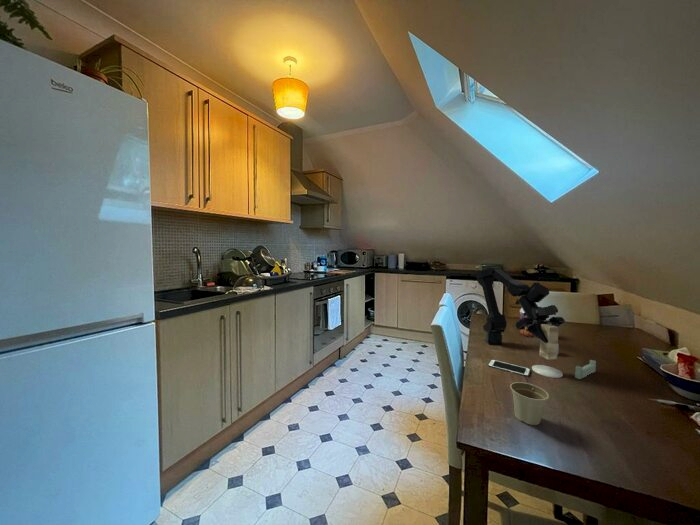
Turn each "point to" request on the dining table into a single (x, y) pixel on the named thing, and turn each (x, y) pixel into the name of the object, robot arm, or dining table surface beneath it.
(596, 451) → the dining table surface
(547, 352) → the beech block
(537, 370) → the coaster
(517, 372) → the cell phone
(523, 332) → the smoothie
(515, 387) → the flower pot
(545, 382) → the dining table surface
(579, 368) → the fence
